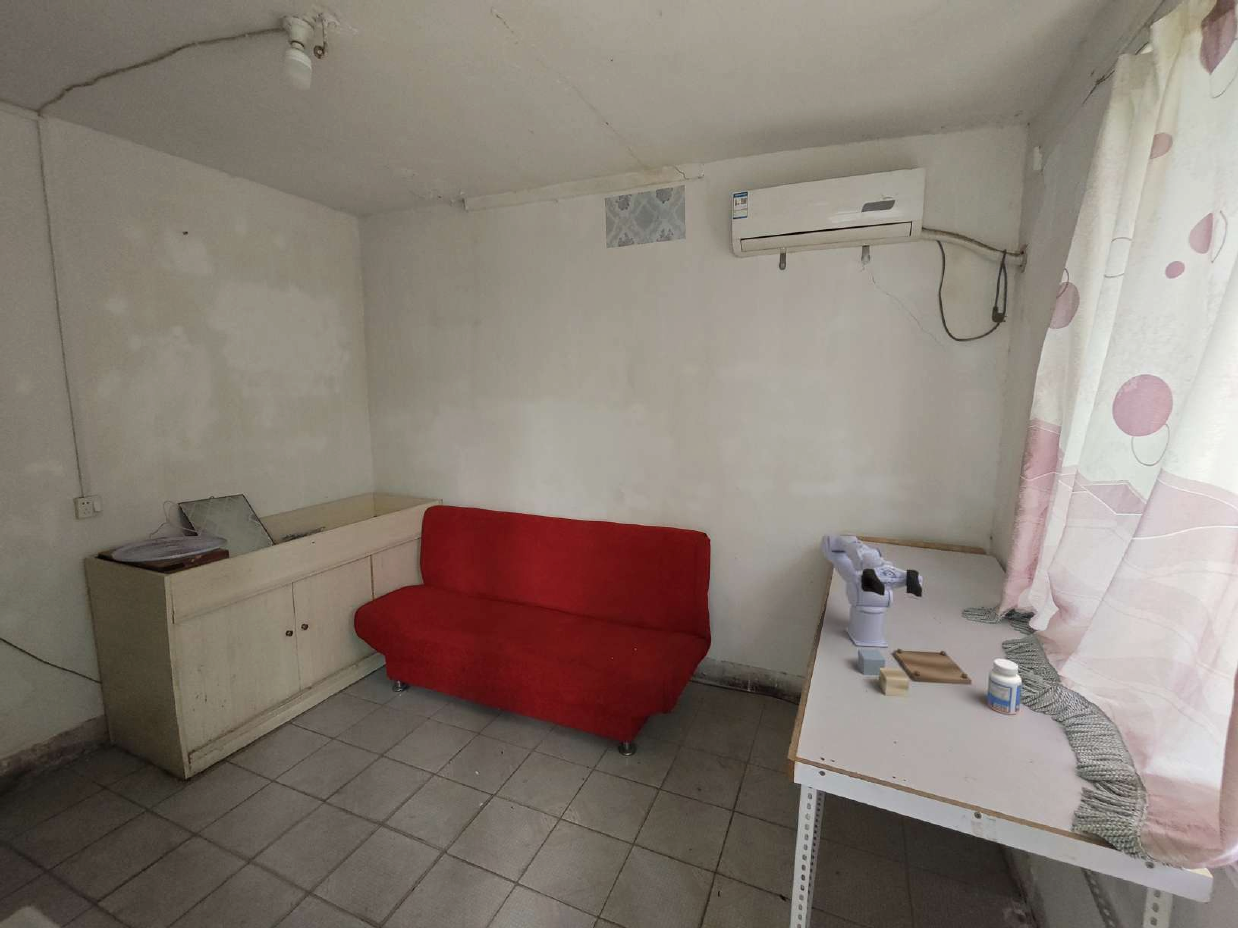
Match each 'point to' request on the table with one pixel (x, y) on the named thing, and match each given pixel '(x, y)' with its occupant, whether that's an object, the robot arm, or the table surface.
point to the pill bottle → (1004, 687)
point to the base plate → (931, 667)
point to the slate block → (870, 661)
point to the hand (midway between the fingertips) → (901, 591)
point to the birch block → (893, 682)
